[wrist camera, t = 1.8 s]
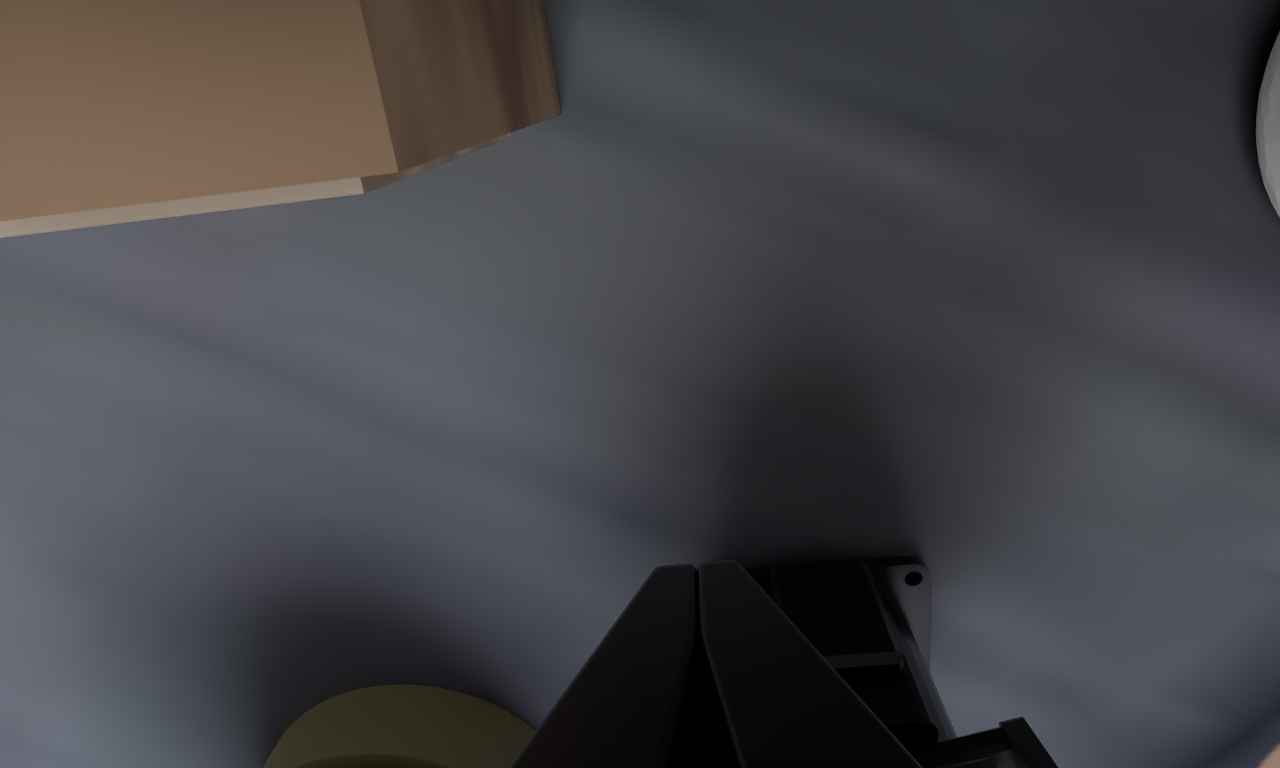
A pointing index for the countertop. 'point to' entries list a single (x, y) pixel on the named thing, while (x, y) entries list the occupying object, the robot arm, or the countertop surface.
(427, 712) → the piston
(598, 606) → the countertop surface
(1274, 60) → the supplement tub
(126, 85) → the brown rectangular block
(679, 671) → the robot arm
